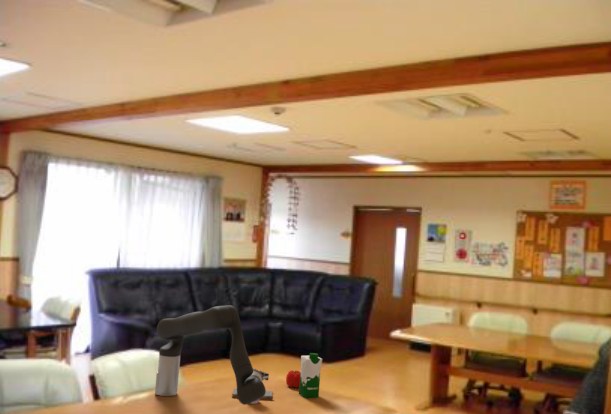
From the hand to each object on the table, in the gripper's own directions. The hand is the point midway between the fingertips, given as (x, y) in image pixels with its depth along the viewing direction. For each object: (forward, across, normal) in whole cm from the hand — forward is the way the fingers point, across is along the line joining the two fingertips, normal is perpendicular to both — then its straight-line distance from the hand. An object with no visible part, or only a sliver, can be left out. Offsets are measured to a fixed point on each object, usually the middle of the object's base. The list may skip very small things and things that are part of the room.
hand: (254, 371), depth 257 cm
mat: (+22, 0, +15) cm, 27 cm away
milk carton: (+25, -26, +16) cm, 39 cm away
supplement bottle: (+9, 0, +16) cm, 18 cm away
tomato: (+39, -20, +16) cm, 47 cm away
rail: (+15, 0, +15) cm, 21 cm away
